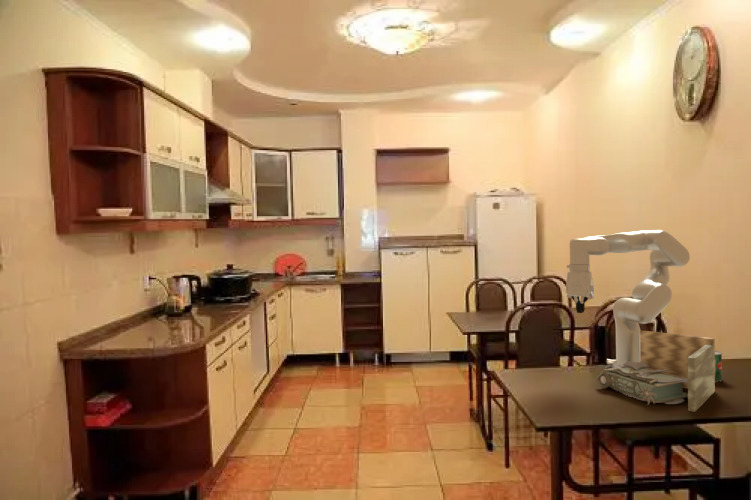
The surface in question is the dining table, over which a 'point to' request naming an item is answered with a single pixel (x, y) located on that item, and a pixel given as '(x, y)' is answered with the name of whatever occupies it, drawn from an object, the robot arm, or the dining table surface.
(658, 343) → the wooden corner bracket
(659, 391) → the ornate book
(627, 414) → the dining table surface
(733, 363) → the dining table surface
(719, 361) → the canned tomato
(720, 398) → the dining table surface
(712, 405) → the dining table surface
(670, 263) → the robot arm
